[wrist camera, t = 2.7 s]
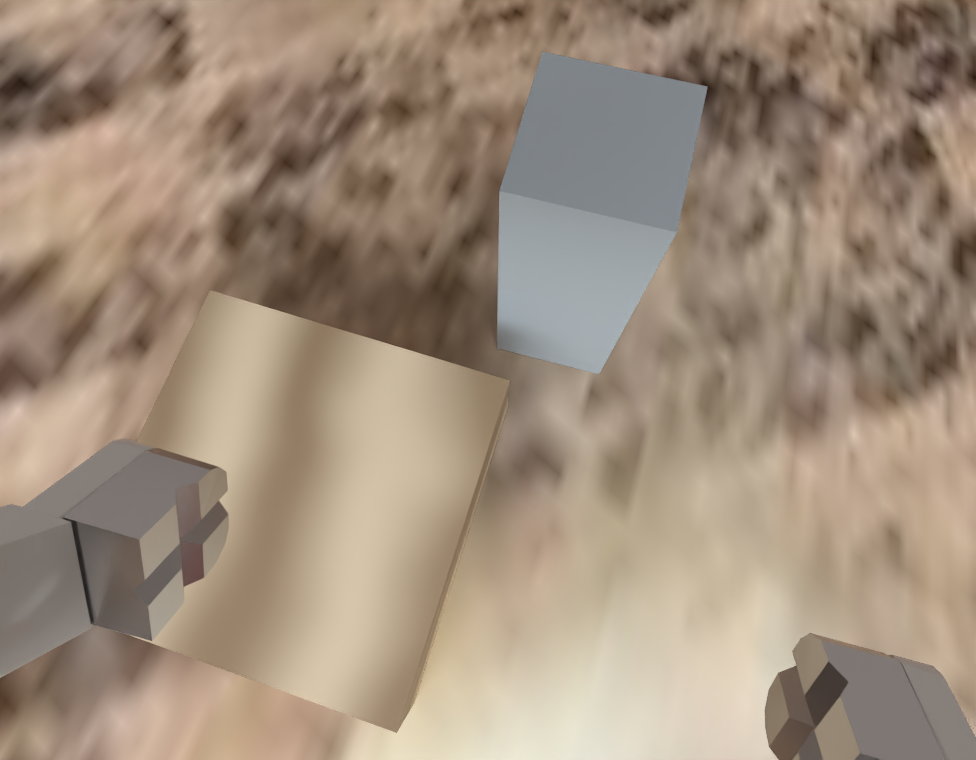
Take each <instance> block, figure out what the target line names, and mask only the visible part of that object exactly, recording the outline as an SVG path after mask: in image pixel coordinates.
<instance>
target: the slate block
mask: <svg viewBox="0 0 976 760" xmlns="http://www.w3.org/2000/svg"><path fill="white" fill-rule="evenodd" d="M706 92H707V86H702V85H697V84H693V83H688V82H683V81H679V80H674V79H669V78H664V77H660V76H655V75H650V74H646V73H641V72H636V71H632V70H627V69H622V68H617V67H613V66H608V65H603V64H599V63H594V62H589V61H584V60H580V59H575V58H570V57H566V56H561V55H556V54H552V53H547V52H542V55H541V58H540V61H539V65H538V68H537V71H536V74H535V78H534V81H533V84H532V87H531V91H530V94H529V97H528V100H527V103H526V107H525V110H524V113H523V116H522V120H521V123H520V126H519V129H518V133H517V136H516V139H515V142H514V146H513V149H512V152H511V155H510V159H509V162H508V165H507V168H506V172H505V175H504V178H503V181H502V184H501V188H500V191H499V251H498V312H497V348H498V349H502V350H506V351H510V352H514V353H518V354H522V355H525V356H529V357H533V358H537V359H541V360H545V361H549V362H553V363H557V364H561V365H565V366H569V367H572V368H576V369H580V370H584V371H588V372H592V373H596V374H599V373H600V371H601V370H602V368H603V366H604V364H605V362H606V360H607V359H608V357H609V355H610V353H611V351H612V350H613V348H614V346H615V344H616V342H617V340H618V339H619V337H620V335H621V333H622V331H623V330H624V328H625V326H626V324H627V322H628V320H629V319H630V317H631V315H632V313H633V311H634V310H635V308H636V306H637V304H638V302H639V301H640V299H641V297H642V295H643V293H644V291H645V290H646V288H647V286H648V284H649V282H650V281H651V279H652V277H653V275H654V273H655V271H656V270H657V268H658V266H659V264H660V262H661V261H662V259H663V257H664V255H665V253H666V251H667V250H668V248H669V246H670V244H671V242H672V241H673V239H674V237H675V235H676V233H677V230H678V225H679V220H680V216H681V211H682V206H683V201H684V196H685V192H686V187H687V182H688V177H689V173H690V168H691V163H692V158H693V154H694V149H695V144H696V139H697V135H698V130H699V125H700V120H701V116H702V111H703V106H704V101H705V96H706Z"/></svg>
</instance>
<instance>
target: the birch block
mask: <svg viewBox="0 0 976 760" xmlns="http://www.w3.org/2000/svg"><path fill="white" fill-rule="evenodd" d="M509 387H510V380H507V379H503V378H500V377H497V376H493V375H490V374H487V373H483V372H480V371H477V370H474V369H470V368H467V367H464V366H460V365H457V364H454V363H450V362H447V361H444V360H440V359H437V358H434V357H430V356H427V355H424V354H420V353H417V352H414V351H410V350H407V349H404V348H401V347H397V346H394V345H391V344H387V343H384V342H381V341H377V340H374V339H371V338H367V337H364V336H361V335H357V334H354V333H351V332H347V331H344V330H341V329H337V328H334V327H331V326H328V325H324V324H321V323H318V322H314V321H311V320H308V319H304V318H301V317H298V316H294V315H291V314H288V313H284V312H281V311H278V310H274V309H271V308H268V307H264V306H261V305H258V304H254V303H251V302H248V301H245V300H241V299H238V298H235V297H231V296H228V295H225V294H221V293H218V292H215V291H211V290H210V291H209V293H208V295H207V297H206V299H205V301H204V304H203V306H202V308H201V310H200V312H199V314H198V316H197V318H196V320H195V322H194V324H193V326H192V328H191V330H190V332H189V334H188V336H187V339H186V341H185V343H184V345H183V347H182V349H181V351H180V353H179V355H178V357H177V359H176V361H175V363H174V365H173V367H172V369H171V371H170V374H169V376H168V378H167V380H166V382H165V384H164V386H163V388H162V390H161V392H160V394H159V396H158V398H157V400H156V402H155V404H154V406H153V409H152V411H151V413H150V415H149V417H148V419H147V421H146V423H145V425H144V427H143V429H142V431H141V433H140V435H139V437H138V439H137V441H136V442H138V443H141V444H144V445H147V446H150V447H153V448H160V449H163V450H166V451H169V452H173V453H176V454H179V455H182V456H186V457H189V458H192V459H195V460H199V461H202V462H205V463H208V464H212V465H215V466H218V467H220V468H222V469H223V470H224V471H226V472H227V485H228V491H227V492H226V493H225V494H224V495H223V496H222V497H221V499H220V500H219V501H220V503H221V504H222V505H223V507H224V508H225V510H226V511H227V513H228V514H229V529H228V534H227V539H226V543H225V545H224V547H223V549H222V552H221V554H220V556H219V558H218V560H217V562H216V563H215V565H214V566H213V567H212V569H211V570H210V571H209V572H208V574H207V575H206V576H205V577H204V578H203V579H201V580H198V581H196V582H194V583H191V584H189V585H187V586H185V587H184V603H183V604H182V606H181V607H180V608H179V609H178V611H177V612H176V613H175V614H174V615H173V617H172V618H171V619H170V620H169V621H168V623H167V624H166V625H165V626H164V628H163V629H162V630H161V631H160V632H159V634H158V635H157V636H156V637H155V638H154V640H153V641H150V640H146V639H143V638H139V637H136V638H139V639H142V640H145V641H147V642H150V643H153V644H156V645H158V646H161V647H164V648H166V649H169V650H172V651H175V652H177V653H180V654H183V655H186V656H188V657H191V658H194V659H196V660H199V661H202V662H205V663H207V664H210V665H213V666H216V667H218V668H221V669H224V670H227V671H229V672H232V673H235V674H237V675H240V676H243V677H246V678H248V679H251V680H254V681H257V682H259V683H262V684H265V685H268V686H270V687H273V688H276V689H278V690H281V691H284V692H287V693H289V694H292V695H295V696H298V697H300V698H303V699H306V700H309V701H311V702H314V703H317V704H319V705H322V706H325V707H328V708H330V709H333V710H336V711H339V712H341V713H344V714H347V715H350V716H352V717H355V718H358V719H360V720H363V721H366V722H369V723H371V724H374V725H377V726H380V727H382V728H385V729H388V730H391V731H393V732H396V733H397V731H398V730H399V728H400V726H401V724H402V723H403V721H404V719H405V718H406V716H407V714H408V712H409V711H410V709H411V707H412V706H413V704H414V701H415V698H416V695H417V692H418V689H419V686H420V683H421V679H422V676H423V673H424V670H425V667H426V664H427V661H428V658H429V654H430V651H431V648H432V645H433V642H434V639H435V636H436V632H437V629H438V626H439V623H440V620H441V617H442V614H443V610H444V607H445V604H446V601H447V598H448V595H449V592H450V588H451V585H452V582H453V579H454V576H455V573H456V570H457V567H458V563H459V560H460V557H461V554H462V551H463V548H464V545H465V541H466V538H467V535H468V532H469V529H470V526H471V523H472V519H473V516H474V513H475V510H476V507H477V504H478V501H479V498H480V494H481V491H482V488H483V485H484V482H485V479H486V476H487V472H488V469H489V466H490V463H491V460H492V457H493V454H494V450H495V447H496V444H497V441H498V438H499V435H500V432H501V428H502V425H503V422H504V419H505V416H506V413H507V410H508V399H509ZM131 636H132V635H131ZM134 637H135V636H134Z"/></svg>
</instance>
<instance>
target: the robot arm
mask: <svg viewBox="0 0 976 760" xmlns="http://www.w3.org/2000/svg"><path fill="white" fill-rule="evenodd" d="M227 491H228V485H227V472H226V471H224V470H223V469H222V468H220V467H218V466H215V465H212V464H208V463H205V462H202V461H199V460H195V459H192V458H189V457H186V456H182V455H179V454H176V453H173V452H169V451H166V450H163V449H160V448H153V447H150V446H147V445H144V444H141V443H138V442H135V441H131V440H128V439H120V440H116V441H112V442H111V443H109V444H108V445H107V446H105V447H104V448H102V449H101V450H100V451H98V452H97V453H96V454H94V455H93V456H92V457H90V458H89V459H87V460H86V461H85V462H83V463H82V464H81V465H79V466H78V467H77V468H75V469H74V470H72V471H71V472H70V473H68V474H67V475H66V476H64V477H63V478H62V479H60V480H59V481H57V482H56V483H55V484H53V485H52V486H51V487H49V488H48V489H47V490H45V491H44V492H42V493H41V494H40V495H38V496H37V497H36V498H34V499H33V500H32V501H30V502H29V503H27V504H26V505H25V506H23V507H20V506H17V505H13V504H11V505H7V506H4V507H0V678H1V677H3V676H4V675H6V674H8V673H10V672H12V671H14V670H15V669H17V668H19V667H21V666H23V665H25V664H27V663H28V662H30V661H32V660H34V659H36V658H38V657H39V656H41V655H43V654H45V653H47V652H49V651H50V650H52V649H54V648H56V647H58V646H60V645H62V644H63V643H65V642H67V641H69V640H71V639H73V638H74V637H76V636H78V635H80V634H82V633H84V632H85V631H87V630H89V629H91V627H92V626H91V624H92V625H96V626H99V627H103V628H107V629H110V630H114V631H117V632H121V633H125V634H128V635H132V636H135V637H139V638H143V639H146V640H150V641H153V640H154V638H155V637H156V636H157V635H158V634H159V632H160V631H161V630H162V629H163V628H164V626H165V625H166V624H167V623H168V621H169V620H170V619H171V618H172V617H173V615H174V614H175V613H176V612H177V611H178V609H179V608H180V607H181V606H182V604H183V603H184V587H185V586H187V585H189V584H191V583H194V582H196V581H198V580H201V579H203V578H204V577H205V576H206V575H207V574H208V572H209V571H210V570H211V569H212V567H213V566H214V565H215V563H216V562H217V560H218V558H219V556H220V554H221V552H222V549H223V547H224V545H225V543H226V539H227V534H228V529H229V514H228V513H227V511H226V510H225V508H224V507H223V505H222V504H221V503H220V501H219V500H220V499H221V497H222V496H223V495H224V494H225V493H226V492H227ZM793 655H794V659H795V662H796V666H794V667H792V668H789V669H787V670H784V671H782V672H780V673H778V675H777V676H776V678H775V680H774V682H773V683H772V685H771V687H770V689H769V692H768V697H767V702H766V707H765V728H766V733H767V738H768V743H769V747H770V749H771V750H772V751H773V753H774V754H775V755H776V757H777V758H778V759H779V760H976V737H975V735H974V733H973V731H972V730H971V728H970V726H969V724H968V722H967V720H966V718H965V716H964V714H963V712H962V710H961V709H960V707H959V705H958V703H957V701H956V699H955V697H954V695H953V693H952V691H951V689H950V688H949V686H948V684H947V682H946V680H945V678H944V677H943V675H942V674H941V673H940V672H939V671H938V670H937V669H936V668H935V667H933V666H931V665H927V664H924V663H920V662H916V661H913V660H909V659H905V658H901V657H898V656H894V655H887V654H885V653H881V652H878V651H874V650H870V649H867V648H863V647H859V646H856V645H852V644H848V643H845V642H841V641H837V640H834V639H830V638H826V637H823V636H819V635H815V634H812V633H810V634H808V635H806V636H804V637H803V638H801V639H800V641H799V642H798V644H797V645H796V647H795V648H794V650H793Z"/></svg>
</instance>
